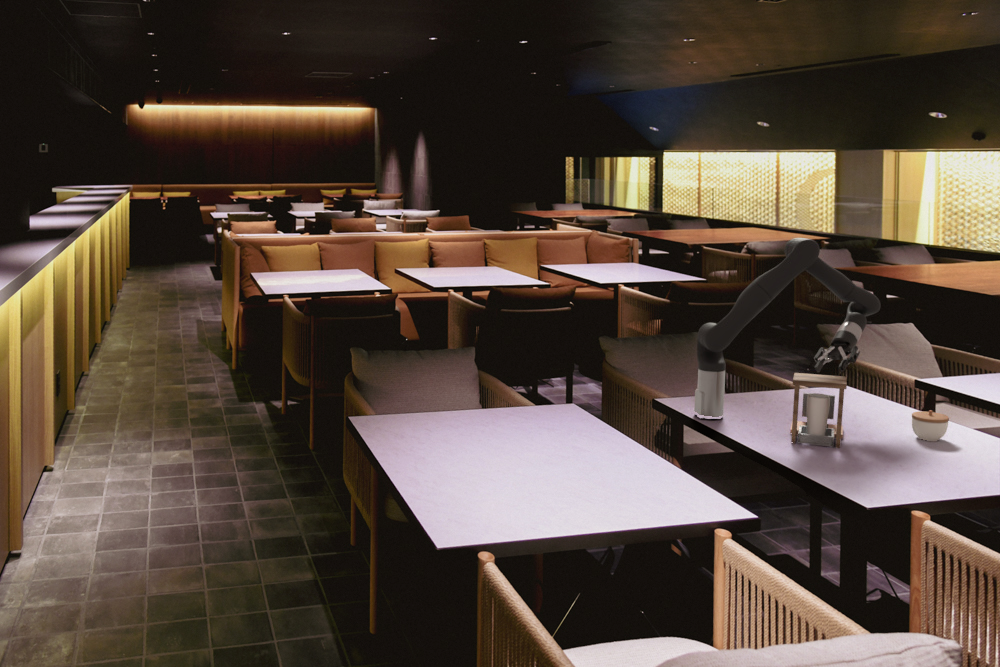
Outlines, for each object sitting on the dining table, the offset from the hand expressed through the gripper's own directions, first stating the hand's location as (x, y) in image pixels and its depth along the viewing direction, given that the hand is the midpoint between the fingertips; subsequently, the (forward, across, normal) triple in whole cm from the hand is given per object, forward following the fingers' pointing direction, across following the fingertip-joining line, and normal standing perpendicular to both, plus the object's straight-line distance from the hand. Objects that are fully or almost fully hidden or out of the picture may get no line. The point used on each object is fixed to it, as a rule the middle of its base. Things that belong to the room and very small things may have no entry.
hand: (828, 370), depth 287 cm
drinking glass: (+26, +4, +7) cm, 27 cm away
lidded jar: (+3, +24, +29) cm, 37 cm away
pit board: (+17, -2, +12) cm, 21 cm away
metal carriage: (+20, 0, +10) cm, 22 cm away
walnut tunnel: (+26, +4, +7) cm, 27 cm away
